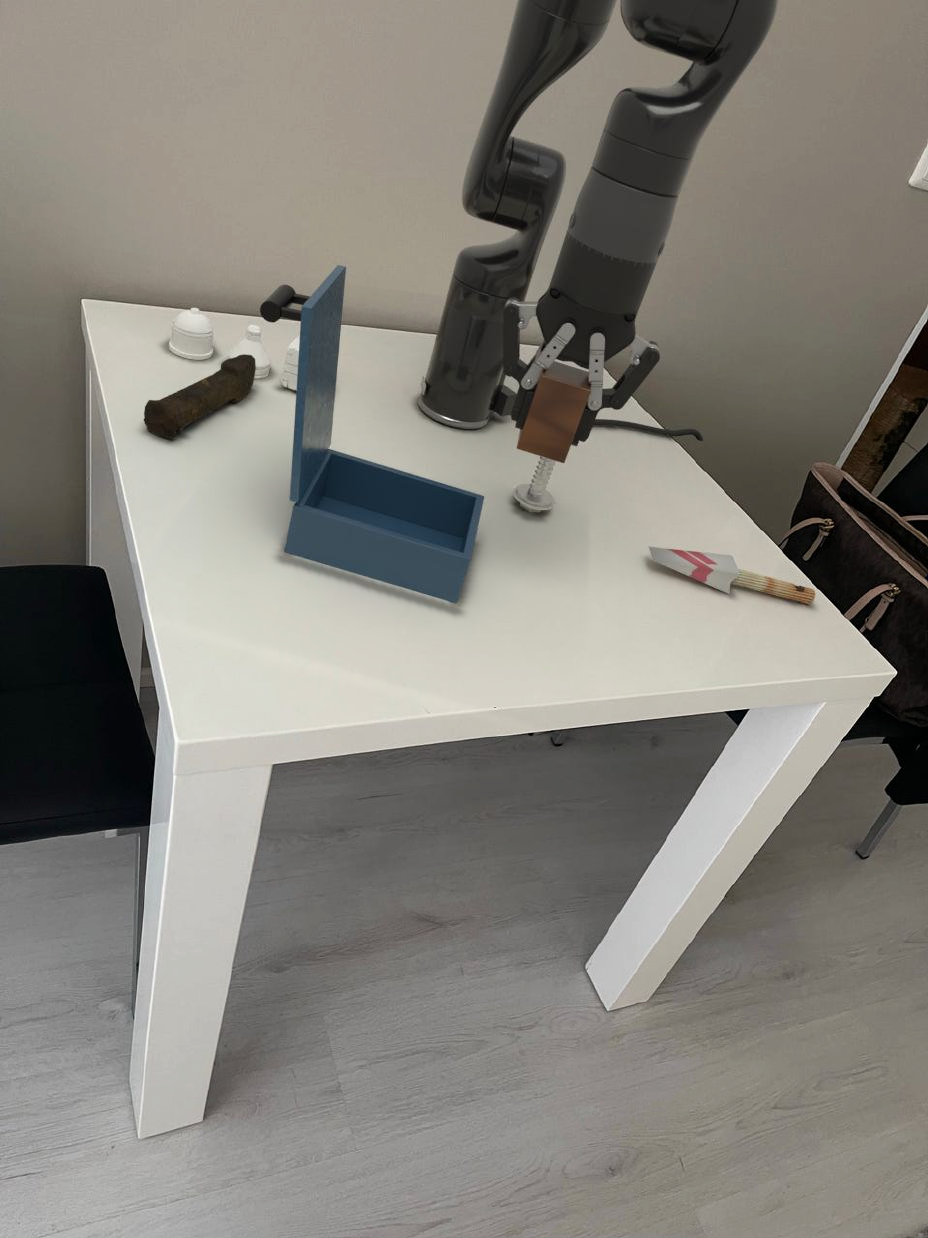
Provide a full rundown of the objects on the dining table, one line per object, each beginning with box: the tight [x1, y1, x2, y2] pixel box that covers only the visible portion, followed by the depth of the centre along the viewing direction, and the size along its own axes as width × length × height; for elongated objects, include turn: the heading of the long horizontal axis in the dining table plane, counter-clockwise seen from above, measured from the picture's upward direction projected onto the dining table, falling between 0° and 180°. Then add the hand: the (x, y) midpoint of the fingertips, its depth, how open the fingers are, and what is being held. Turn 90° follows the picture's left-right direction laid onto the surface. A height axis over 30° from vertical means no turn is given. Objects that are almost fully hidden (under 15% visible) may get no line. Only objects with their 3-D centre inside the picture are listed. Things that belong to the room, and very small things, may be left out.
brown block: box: [516, 360, 591, 464], centre depth 84 cm, size 4×4×7 cm
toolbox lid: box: [259, 264, 347, 503], centre depth 86 cm, size 18×13×5 cm
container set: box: [168, 307, 300, 391], centre depth 117 cm, size 20×5×6 cm, turn 80°
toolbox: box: [284, 448, 485, 604], centre depth 93 cm, size 17×13×6 cm
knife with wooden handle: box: [648, 546, 816, 605], centre depth 108 cm, size 4×3×20 cm
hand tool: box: [143, 354, 256, 439], centre depth 106 cm, size 19×4×5 cm, turn 156°
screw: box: [512, 456, 557, 513], centre depth 106 cm, size 13×5×5 cm
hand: (546, 432), depth 85 cm, fingers closed on brown block, 4 cm apart
